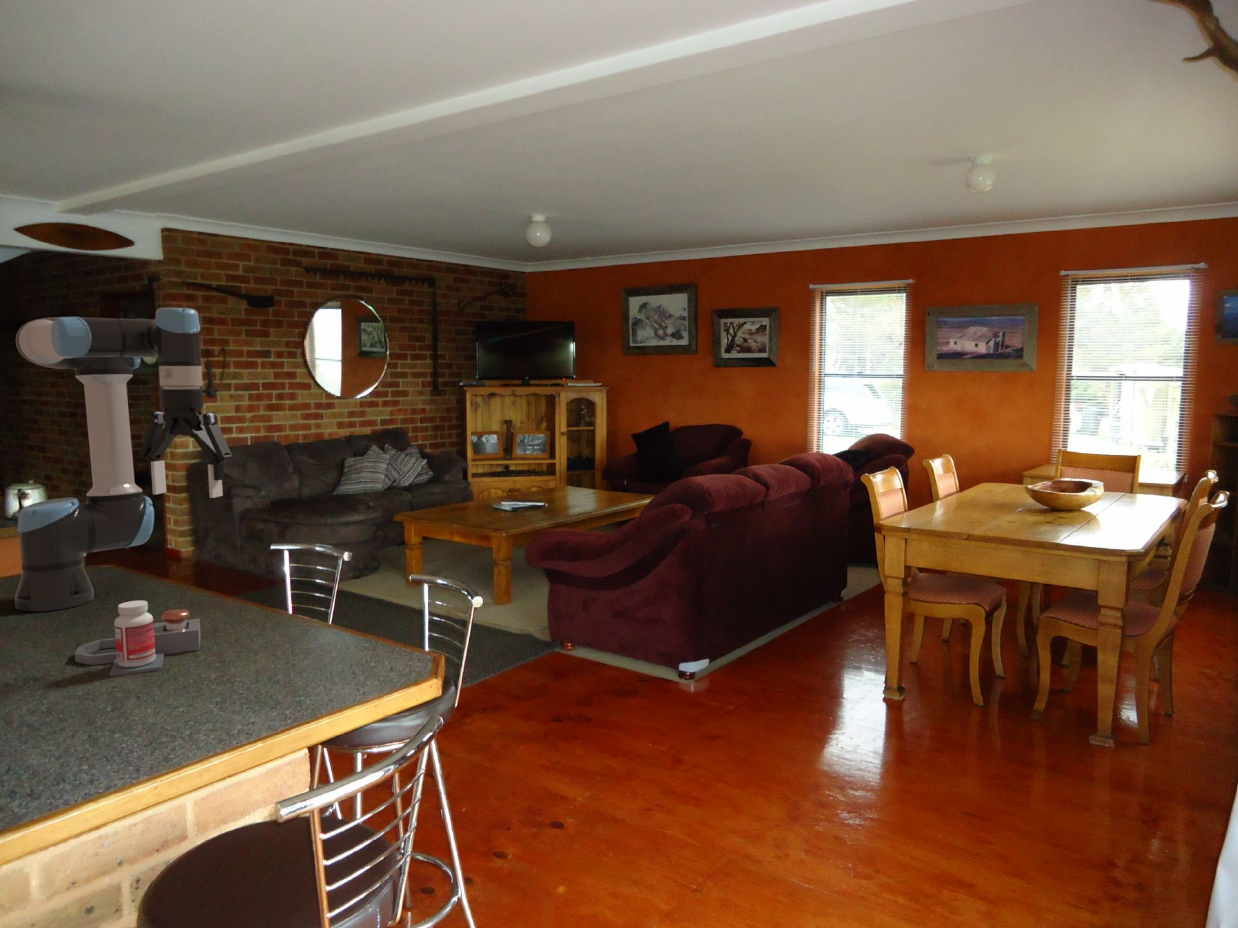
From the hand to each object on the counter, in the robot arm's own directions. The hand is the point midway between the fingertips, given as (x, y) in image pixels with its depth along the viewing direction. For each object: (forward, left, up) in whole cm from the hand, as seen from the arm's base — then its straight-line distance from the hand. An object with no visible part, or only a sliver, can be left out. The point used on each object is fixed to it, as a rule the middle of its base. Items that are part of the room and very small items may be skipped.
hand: (187, 495), depth 172 cm
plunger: (+7, -3, -28) cm, 29 cm away
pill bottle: (+15, -9, -28) cm, 33 cm away
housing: (+7, -9, -29) cm, 31 cm away
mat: (+16, -9, -29) cm, 34 cm away
